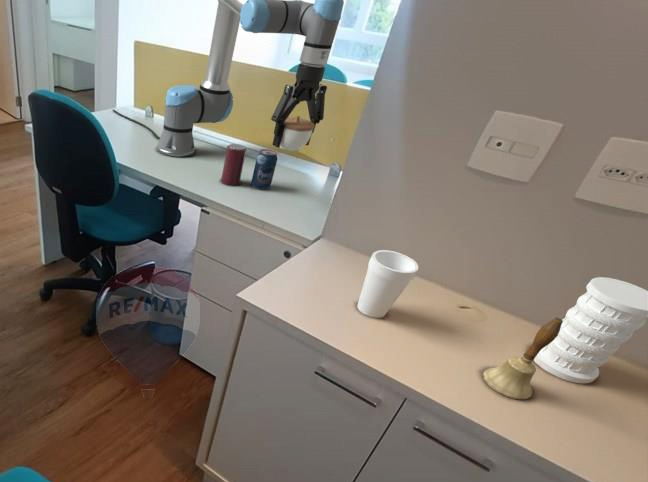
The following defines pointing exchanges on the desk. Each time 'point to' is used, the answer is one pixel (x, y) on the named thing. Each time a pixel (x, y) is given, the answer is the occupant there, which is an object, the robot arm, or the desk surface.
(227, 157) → the aluminium can
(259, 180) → the soda can
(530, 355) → the hand bell
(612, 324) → the decorative container
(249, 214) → the desk surface
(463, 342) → the desk surface
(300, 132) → the trinket box
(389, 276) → the foam cup
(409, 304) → the desk surface
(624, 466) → the desk surface
